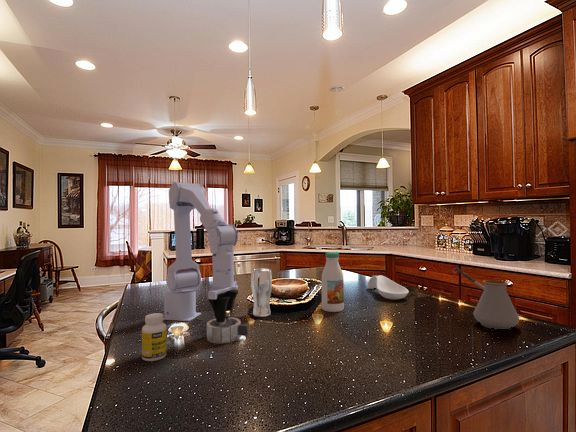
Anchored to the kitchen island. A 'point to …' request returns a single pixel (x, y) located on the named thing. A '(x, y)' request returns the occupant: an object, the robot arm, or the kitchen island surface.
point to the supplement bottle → (154, 338)
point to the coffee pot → (494, 305)
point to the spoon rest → (387, 287)
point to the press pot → (225, 330)
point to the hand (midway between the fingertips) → (223, 319)
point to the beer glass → (261, 291)
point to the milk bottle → (332, 284)
